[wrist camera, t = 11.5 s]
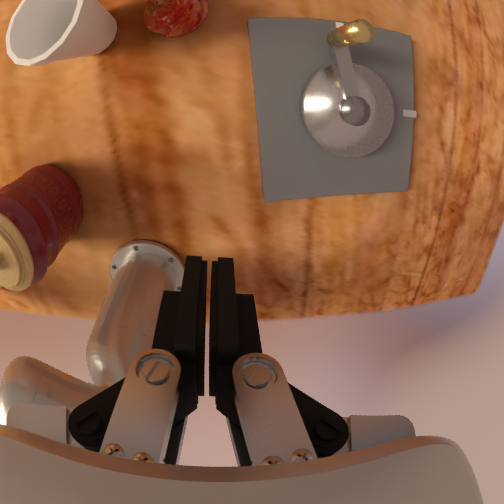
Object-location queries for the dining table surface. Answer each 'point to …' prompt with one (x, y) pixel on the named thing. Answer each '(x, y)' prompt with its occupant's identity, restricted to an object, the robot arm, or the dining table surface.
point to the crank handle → (347, 98)
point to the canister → (36, 224)
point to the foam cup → (58, 31)
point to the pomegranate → (174, 16)
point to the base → (289, 119)
